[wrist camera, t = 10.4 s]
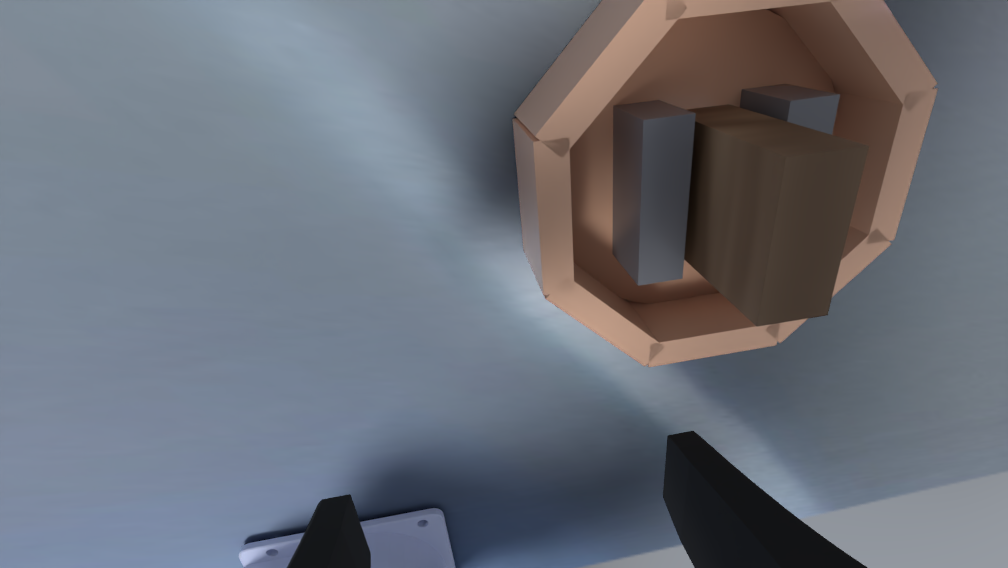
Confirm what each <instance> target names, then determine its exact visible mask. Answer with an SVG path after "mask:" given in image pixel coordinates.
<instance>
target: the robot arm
mask: <svg viewBox="0 0 1008 568" xmlns="http://www.w3.org/2000/svg"><path fill="white" fill-rule="evenodd" d="M663 498H664V500H665V503H666V506H667V508H668V511H669V513H670V516H671V518H672V521H673V523H674V526H675V528H676V531H677V533H678V535H679V538H680V540H681V542H682V544H683V546H684V548H685V550H686V552H687V554H688V556H689V558H690V559H691V561H692V563H693V565H694V567H695V568H867V567H866V566H864V565H863V564H861V563H860V562H858V561H857V560H855V559H854V558H852V557H851V556H849V555H848V554H846V553H845V552H844V551H842V550H841V549H839V548H838V547H836V546H835V545H834V544H832V543H831V542H829V541H828V540H827V539H825V538H824V537H822V536H821V535H820V534H818V533H817V532H816V531H814V530H813V529H812V528H810V527H809V526H808V525H806V524H805V523H804V522H802V521H801V520H800V519H798V518H797V517H796V516H794V515H793V514H792V513H791V512H789V511H788V510H787V509H785V508H784V507H783V506H782V505H780V504H779V503H778V502H777V501H775V500H774V499H773V498H772V497H771V496H769V495H768V494H767V493H766V492H764V491H763V490H762V489H761V488H759V487H758V486H757V485H756V484H755V483H753V482H752V481H751V480H750V479H749V478H747V477H746V476H745V475H744V474H743V473H741V472H740V471H739V470H738V469H737V468H736V467H734V466H733V465H732V464H731V463H730V462H729V461H728V460H726V459H725V458H724V457H723V456H722V455H721V454H719V453H718V452H717V451H716V450H715V449H714V448H713V447H712V446H710V445H709V444H708V443H707V442H706V441H705V440H704V439H702V438H701V437H700V436H699V435H698V434H697V433H695V432H694V431H690V432H684V433H679V434H673V435H668V438H667V451H666V464H665V477H664V490H663ZM239 559H240V560H241V562H242V564H243V566H244V567H243V568H456V566H455V562H454V558H453V553H452V549H451V544H450V540H449V536H448V531H447V527H446V522H445V518H444V513H443V512H442V511H441V510H440V509H437V508H431V509H426V510H420V511H415V512H410V513H404V514H399V515H394V516H389V517H383V518H378V519H373V520H368V521H362V522H360V521H359V518H358V515H357V512H356V509H355V506H354V504H353V501H352V498H351V495H344V496H339V497H333V498H328V499H323V500H321V501H320V503H319V504H318V506H317V508H316V510H315V512H314V514H313V516H312V518H311V520H310V522H309V524H308V527H307V529H306V531H305V532H304V533H299V534H294V535H289V536H283V537H278V538H273V539H268V540H262V541H257V542H252V543H248V544H245V545H243V546H242V547H241V550H240V553H239Z"/></svg>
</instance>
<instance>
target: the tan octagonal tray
mask: <svg viewBox="0 0 1008 568" xmlns="http://www.w3.org/2000/svg"><path fill="white" fill-rule="evenodd" d="M937 84H938V83H937V82H936V80H935V79H934V77H933V76H932V74H931V73H930V71H929V70H928V68H927V66H926V65H925V63H924V62H923V60H922V59H921V57H920V56H919V54H918V53H917V51H916V49H915V48H914V46H913V45H912V43H911V42H910V40H909V39H908V37H907V36H906V34H905V33H904V31H903V29H902V28H901V26H900V25H899V23H898V22H897V20H896V19H895V17H894V16H893V14H892V12H891V11H890V9H889V8H888V6H887V5H886V3H885V2H884V0H602V1H601V2H600V4H599V5H598V6H597V7H596V9H595V10H594V11H593V13H592V14H591V15H590V16H589V18H588V19H587V20H586V22H585V23H584V24H583V25H582V27H581V28H580V29H579V31H578V32H577V33H576V34H575V36H574V37H573V38H572V40H571V41H570V42H569V43H568V45H567V46H566V47H565V49H564V50H563V51H562V52H561V54H560V55H559V56H558V58H557V59H556V60H555V61H554V63H553V64H552V65H551V67H550V68H549V69H548V71H547V72H546V73H545V74H544V76H543V77H542V78H541V80H540V81H539V82H538V83H537V85H536V86H535V87H534V89H533V90H532V91H531V92H530V94H529V95H528V96H527V98H526V99H525V100H524V101H523V103H522V104H521V105H520V107H519V108H518V109H517V110H516V112H515V113H514V115H515V116H516V117H517V118H514V119H512V120H513V132H514V144H515V156H516V168H517V179H518V191H519V203H520V215H521V227H522V238H523V250H524V253H525V255H526V257H527V259H528V262H529V264H530V266H531V268H532V271H533V273H534V275H535V277H536V280H537V282H538V284H539V286H540V289H541V291H542V293H543V295H544V296H545V299H547V300H548V301H549V302H551V303H552V304H554V305H555V306H557V307H558V308H560V309H561V310H563V311H564V312H566V313H567V314H568V315H570V316H571V317H573V318H574V319H576V320H577V321H579V322H580V323H582V324H583V325H585V326H586V327H588V328H589V329H590V330H592V331H593V332H595V333H596V334H598V335H599V336H601V337H602V338H604V339H605V340H607V341H608V342H610V343H611V344H612V345H614V346H615V347H617V348H618V349H620V350H621V351H623V352H624V353H626V354H627V355H629V356H630V357H632V358H633V359H634V360H636V361H637V362H639V363H640V364H642V365H643V366H646V365H648V367H654V366H660V365H665V364H671V363H677V362H683V361H688V360H694V359H700V358H706V357H712V356H717V355H723V354H729V353H735V352H740V351H746V350H752V349H758V348H764V347H769V346H775V345H776V344H777V341H778V342H779V343H781V342H782V341H783V340H785V339H786V338H787V337H788V336H789V335H790V334H791V333H792V332H794V331H795V330H796V329H797V328H798V327H799V326H800V325H801V324H802V323H804V322H805V321H806V320H807V319H808V318H807V319H801V320H795V321H789V322H783V323H777V324H770V325H764V326H758V327H756V326H755V325H754V324H753V323H752V322H751V321H750V320H749V319H748V318H747V317H746V316H745V315H744V314H742V313H741V312H740V311H739V310H738V309H737V308H736V307H735V306H734V305H733V304H732V303H731V302H730V301H728V300H727V299H726V298H725V297H724V296H723V295H722V294H721V293H720V292H719V291H718V290H717V289H716V288H714V287H713V286H712V285H711V284H710V283H709V282H708V281H707V280H706V279H705V278H704V277H703V276H702V275H700V274H699V273H698V272H697V271H696V270H695V269H694V268H693V267H692V266H691V265H690V264H689V263H688V262H686V261H685V260H684V254H685V241H686V229H687V216H688V204H689V191H690V179H691V166H692V153H693V141H694V128H695V116H696V113H694V112H691V111H688V110H686V109H694V108H702V107H710V106H719V105H727V104H730V105H733V106H736V107H740V108H743V109H747V110H750V111H753V112H757V113H760V114H763V115H767V116H770V117H773V118H777V119H780V120H784V121H787V122H790V123H794V124H797V125H800V126H804V127H807V128H810V129H814V130H817V131H821V132H824V133H827V134H831V135H834V136H837V137H841V138H844V139H847V140H851V141H854V142H858V143H861V144H864V145H868V146H869V149H868V153H867V157H866V161H865V165H864V169H863V174H862V178H861V182H860V186H859V190H858V194H857V198H856V202H855V206H854V210H853V214H852V218H851V222H850V226H849V230H848V234H847V238H846V242H845V246H844V250H843V254H842V258H841V262H840V266H839V270H838V274H837V279H836V283H835V287H834V291H833V295H832V297H833V296H834V295H835V294H836V293H837V292H838V291H839V290H841V289H842V288H843V287H844V286H845V285H846V284H847V283H848V282H850V281H851V280H852V279H853V278H854V277H855V276H856V275H857V274H858V273H860V272H861V271H862V270H863V269H864V268H865V267H866V266H867V265H869V264H870V263H871V262H872V261H873V260H874V259H875V258H876V257H877V256H879V255H880V254H881V253H882V252H883V251H884V250H885V249H886V248H888V247H889V246H890V245H891V243H890V242H889V241H890V240H894V239H895V235H896V232H897V229H898V225H899V222H900V218H901V215H902V211H903V208H904V204H905V201H906V197H907V194H908V191H909V187H910V184H911V180H912V177H913V173H914V170H915V166H916V163H917V159H918V156H919V153H920V149H921V146H922V142H923V139H924V135H925V132H926V128H927V125H928V121H929V118H930V114H931V111H932V108H933V104H934V101H935V97H936V94H937V90H938V89H937V88H934V87H935V86H936V85H937Z"/></svg>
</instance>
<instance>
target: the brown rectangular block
mask: <svg viewBox="0 0 1008 568" xmlns="http://www.w3.org/2000/svg"><path fill="white" fill-rule="evenodd" d="M686 110H688V111H691V112H694V113H696V116H695V128H694V141H693V153H692V166H691V179H690V191H689V204H688V216H687V229H686V241H685V254H684V260H685V261H686V262H688V263H689V264H690V265H691V266H692V267H693V268H694V269H695V270H696V271H697V272H698V273H699V274H700V275H702V276H703V277H704V278H705V279H706V280H707V281H708V282H709V283H710V284H711V285H712V286H713V287H714V288H716V289H717V290H718V291H719V292H720V293H721V294H722V295H723V296H724V297H725V298H726V299H727V300H728V301H730V302H731V303H732V304H733V305H734V306H735V307H736V308H737V309H738V310H739V311H740V312H741V313H742V314H744V315H745V316H746V317H747V318H748V319H749V320H750V321H751V322H752V323H753V324H754V325H755V326H756V327H758V326H764V325H770V324H777V323H783V322H789V321H795V320H801V319H807V318H813V317H819V316H825V315H828V311H829V307H830V303H831V299H832V295H833V291H834V287H835V283H836V279H837V274H838V270H839V266H840V262H841V258H842V254H843V250H844V246H845V242H846V238H847V234H848V230H849V226H850V222H851V218H852V214H853V210H854V206H855V202H856V198H857V194H858V190H859V186H860V182H861V178H862V174H863V169H864V165H865V161H866V157H867V153H868V149H869V146H868V145H864V144H861V143H858V142H854V141H851V140H847V139H844V138H841V137H837V136H834V135H831V134H827V133H824V132H821V131H817V130H814V129H810V128H807V127H804V126H800V125H797V124H794V123H790V122H787V121H784V120H780V119H777V118H773V117H770V116H767V115H763V114H760V113H757V112H753V111H750V110H747V109H743V108H740V107H736V106H733V105H730V104H727V105H719V106H710V107H702V108H694V109H686Z"/></svg>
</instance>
